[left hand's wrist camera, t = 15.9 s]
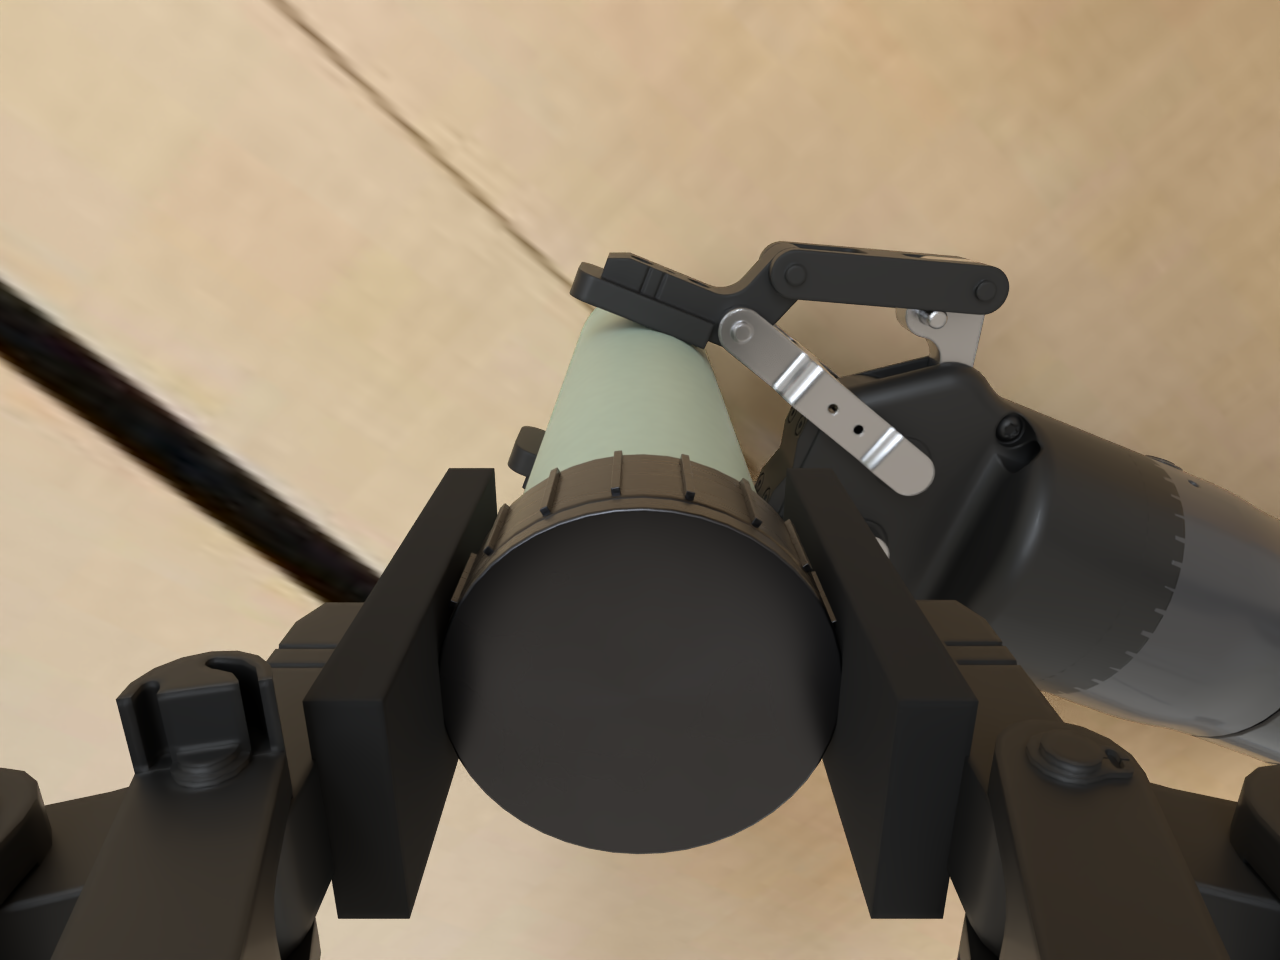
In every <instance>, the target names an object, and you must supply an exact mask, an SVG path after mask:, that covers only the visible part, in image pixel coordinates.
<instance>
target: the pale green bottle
mask: <svg viewBox="0 0 1280 960" xmlns="http://www.w3.org/2000/svg"><path fill="white" fill-rule="evenodd" d="M620 450H622V454H623V455H635V454H648V455H661V456H670V457H675V458H680V457H681V454H685V455H689V458H690V461H693V462H696V463H699V464H702V465H705V466H708V467H711V468H714V469H716V470H718V471H720V472H722V473H724V474H726V475H728V476H730V477H732V478H734V479H736V480H738V481H739V482H740V481H741V479H742V478H744V479H746V480H748V481H749V483H750V486H751V489H752V490H753V491H754V492H756V490H755V487H754V484H753V482H752V479H751V476H750V473H749V470H748V468H747V465H746V462H745V459H744V456H743V454H742V451H741V448H740V445H739V442H738V440H737V437H736V434H735V431H734V428H733V426H732V423H731V420H730V417H729V414H728V412H727V409H726V406H725V403H724V400H723V398H722V395H721V392H720V389H719V386H718V384H717V381H716V378H715V375H714V372H713V370H712V367H711V364H710V361H709V358H708V356H707V353H706V350H705V349H701V348H699V347H696V346H694V345H691V344H689V343H686V342H684V341H681V340H679V339H677V338H674V337H672V336H670V335H667V334H664V333H661V332H658V331H656V330H653V329H651V328H648V327H646V326H643V325H641V324H638V323H636V322H633V321H631V320H628V319H626V318H623V317H621V316H618V315H616V314H613V313H610V312H608V311H605V310H603V309H600V308H598V307H597V308H596V309H595V310H594V311H593V312H592V313H591V314H590V316H589V317H588V319H587V320H586V322H585V324H584V326H583V328H582V331H581V333H580V336H579V339H578V342H577V345H576V348H575V350H574V353H573V356H572V359H571V362H570V364H569V367H568V370H567V373H566V376H565V378H564V381H563V384H562V387H561V390H560V393H559V395H558V398H557V401H556V404H555V407H554V409H553V412H552V415H551V418H550V421H549V424H548V426H547V429H546V432H545V435H544V438H543V440H542V443H541V446H540V449H539V452H538V454H537V457H536V460H535V463H534V466H533V469H532V471H531V474H530V477H529V480H528V483H527V485H526V488H525V491H524V493H526V492H527V491H528V490H529V489H530V488H532V487H534V486H535V485H537V484H538V483H540V482H542V481H543V480H545V479H547V478H548V477H549V475H550V471H551V470H553V469H555V468H558V469H559V471H560V472H561V471H563V470H565V469H567V468H570V467H572V466H575V465H578V464H582V463H585V462H588V461H591V460H595V459H600V458H606V457H612V456H614V451H620Z"/></svg>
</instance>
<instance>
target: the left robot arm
mask: <svg viewBox="0 0 1280 960" xmlns="http://www.w3.org/2000/svg"><path fill="white" fill-rule="evenodd" d="M496 517H497V503H496V488H495V472H494V468H449V469H448V471H447V472H446V474H445V476H444V477H443V479H442V480H441V482H440V484H439V485H438V487H437V488H436V490H435V491H434V493H433V495H432V496H431V498H430V499H429V501H428V503H427V504H426V506H425V507H424V509H423V510H422V512H421V514H420V515H419V517H418V518H417V520H416V522H415V523H414V525H413V526H412V528H411V529H410V531H409V533H408V534H407V536H406V537H405V539H404V541H403V542H402V544H401V545H400V547H399V548H398V550H397V552H396V553H395V555H394V556H393V558H392V560H391V561H390V563H389V564H388V566H387V567H386V569H385V571H384V572H383V574H382V575H381V577H380V579H379V580H378V582H377V583H376V585H375V587H374V588H373V590H372V591H371V593H370V594H369V596H368V598H367V599H366V601H365V602H364V603H325V604H323V605H321V606H320V607H318V608H317V609H315V610H314V611H312V612H311V613H309V614H308V615H306V616H304V617H303V618H301V619H300V620H298V621H297V622H296V623H295V624H294V625H293V627H292V628H291V629H290V631H289V632H288V633H287V635H286V636H285V637H284V639H283V640H282V641H281V643H280V644H279V649H275V650H274V652H273V653H272V654H271V656H270V657H269V658H268V660H267V661H265V660H263V659H262V658H261V657H260V656H258V655H254V654H249V653H245V652H241V651H212V652H207V653H202V654H197V655H192V656H187V657H183V658H180V659H177V660H175V661H172V662H169V663H167V664H164V665H162V666H159V667H157V668H154V669H152V670H151V671H149V672H148V673H146V674H144V675H143V676H141V677H139V678H138V679H136V680H135V681H133V682H131V683H130V684H129V685H128V687H127V688H126V689H125V690H124V691H123V692H122V693H121V694H120V695H119V697H118V698H117V699H116V702H117V705H118V709H119V713H120V717H121V721H122V725H123V729H124V733H125V737H126V741H127V744H128V748H129V752H130V756H131V760H132V764H133V768H134V772H135V775H134V777H133V779H132V782H131V784H130V786H129V787H127V788H123V789H119V790H116V791H112V792H108V793H103V794H98V795H93V796H89V797H84V798H79V799H74V800H69V801H65V802H60V803H55V804H50V805H45V806H44V802H43V799H42V796H41V793H40V789H39V786H38V783H37V781H36V780H35V779H33V778H32V777H31V776H30V775H28V774H27V773H26V772H25V771H20V770H13V769H6V768H0V960H320V956H321V949H320V942H319V935H318V929H317V924H316V918H315V917H316V914H317V912H318V910H319V907H320V905H321V903H322V900H323V898H324V896H325V893H326V891H327V889H328V886H329V884H330V882H331V880H332V884H333V890H334V896H335V903H336V909H337V915H338V919H410V916H411V913H412V909H413V906H414V903H415V899H416V896H417V893H418V890H419V886H420V883H421V880H422V877H423V873H424V870H425V867H426V863H427V860H428V857H429V854H430V850H431V847H432V844H433V841H434V837H435V834H436V831H437V827H438V824H439V821H440V818H441V814H442V811H443V808H444V805H445V801H446V798H447V795H448V792H449V788H450V785H451V782H452V778H453V775H454V772H455V769H456V765H457V762H458V759H459V758H458V756H457V754H456V752H455V750H454V748H453V746H452V744H451V742H450V740H449V738H448V735H447V732H446V729H445V726H444V718H443V709H442V698H441V688H440V677H439V654H440V647H441V644H442V640H443V637H444V634H445V631H446V628H447V625H448V622H449V620H450V617H451V615H452V612H453V610H454V609H452V608H450V607H448V605H449V603H450V600H451V598H452V596H453V593H454V591H455V589H456V586H457V584H458V582H459V580H460V577H461V575H462V573H463V570H464V568H465V566H466V563H467V561H468V559H469V557H470V554H471V553H474V554H477V553H478V551H479V549H480V547H481V545H482V543H483V541H484V539H485V537H486V536H487V534H488V533H489V531H490V530H491V528H492V527H493V525H494V522H495V520H496ZM788 519H790V520H791V522H792V523H793V524H794V527H795V529H796V531H797V534H798V536H799V538H800V541H801V543H802V545H803V548H804V550H805V552H806V555H807V557H808V559H809V562H810V564H811V566H812V570H811V572H814V571H815V572H816V574H817V577H818V579H819V581H820V584H821V586H822V588H823V591H824V593H825V595H826V598H827V600H828V602H829V604H830V607H831V609H832V611H833V614H834V616H835V618H836V628H835V631H836V634H837V638H838V642H839V645H840V649H841V654H842V676H841V687H840V697H839V708H838V717H837V725H836V728H835V731H834V734H833V736H832V739H831V742H830V744H829V746H828V748H827V750H826V751H825V753H824V755H823V757H822V759H823V762H824V766H825V769H826V772H827V776H828V779H829V782H830V785H831V789H832V792H833V795H834V798H835V802H836V805H837V808H838V812H839V815H840V818H841V821H842V825H843V828H844V831H845V834H846V838H847V841H848V844H849V847H850V851H851V854H852V857H853V861H854V864H855V867H856V870H857V874H858V877H859V880H860V883H861V887H862V890H863V893H864V897H865V900H866V903H867V906H868V910H869V913H870V916H871V919H943V914H944V908H945V902H946V896H947V890H948V884H949V878H951V880H952V882H953V885H954V887H955V889H956V892H957V894H958V896H959V898H960V901H961V903H962V905H963V908H964V910H965V918H964V924H963V929H962V935H961V940H960V946H959V952H958V957H957V960H1280V764H1279V765H1272V766H1265V767H1258V768H1257V769H1256V770H1254V771H1253V772H1252V773H1251V774H1249V775H1248V776H1247V777H1246V778H1245V780H1244V783H1243V787H1242V790H1241V793H1240V796H1239V800H1238V802H1234V801H1229V800H1224V799H1220V798H1215V797H1210V796H1205V795H1200V794H1196V793H1191V792H1186V791H1181V790H1176V789H1172V788H1168V787H1164V786H1161V785H1157V784H1153V783H1150V782H1149V780H1148V778H1147V776H1146V774H1145V772H1144V771H1143V769H1142V768H1141V767H1140V765H1139V764H1138V763H1137V761H1136V760H1135V759H1134V757H1133V756H1132V755H1131V754H1130V753H1128V752H1127V751H1126V750H1124V749H1123V748H1121V747H1120V746H1119V745H1117V744H1116V743H1115V742H1113V741H1112V740H1110V739H1109V738H1106V737H1104V736H1102V735H1100V734H1097V733H1095V732H1093V731H1091V730H1089V729H1086V728H1084V727H1081V726H1077V725H1073V724H1069V723H1064V722H1063V721H1062V719H1061V718H1060V717H1059V715H1058V714H1057V713H1056V711H1055V710H1054V709H1053V707H1052V706H1051V705H1050V704H1049V702H1048V701H1047V700H1046V698H1045V697H1044V696H1043V694H1042V693H1041V692H1040V690H1039V689H1038V688H1037V686H1036V685H1035V684H1034V682H1033V681H1032V680H1031V679H1030V677H1029V676H1028V675H1027V673H1026V672H1025V671H1024V669H1023V668H1022V667H1021V665H1017V660H1016V659H1015V657H1014V656H1013V655H1012V654H1011V652H1010V651H1009V650H1008V648H1007V647H1006V646H1003V645H1002V640H1001V639H1000V638H999V636H998V635H997V634H996V632H995V631H994V630H993V629H992V627H991V626H990V625H989V623H988V622H987V621H986V619H984V618H983V617H981V616H980V615H978V614H977V613H975V612H973V611H972V610H970V609H969V608H967V607H966V606H964V605H963V604H961V603H959V602H958V601H956V600H915V599H914V598H913V596H912V595H911V593H910V591H909V590H908V588H907V587H906V585H905V583H904V582H903V580H902V579H901V577H900V575H899V574H898V572H897V571H896V569H895V568H894V566H893V564H892V563H891V561H890V560H889V558H888V556H887V555H886V553H885V552H884V550H883V549H882V547H881V545H880V544H879V542H878V541H877V539H876V537H875V536H874V534H873V533H872V531H871V530H870V528H869V526H868V525H867V523H866V522H865V520H864V518H863V517H862V515H861V514H860V512H859V511H858V509H857V507H856V506H855V504H854V503H853V501H852V499H851V498H850V496H849V495H848V493H847V492H846V490H845V488H844V487H843V485H842V484H841V482H840V480H839V479H838V477H837V476H836V474H835V473H834V471H833V469H832V468H787V471H786V486H785V502H784V517H783V521H784V522H785V521H787V520H788Z"/></svg>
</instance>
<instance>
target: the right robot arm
mask: <svg viewBox="0 0 1280 960" xmlns="http://www.w3.org/2000/svg"><path fill="white" fill-rule="evenodd" d="M1008 292H1009V282H1008V279H1007V277H1006V275H1005V274H1004V272H1002V271H1001V270H1000V269H998V268H996V267H993V266H990V265H986V264H983V263H979V262H976V261H972V260H969V259H965V258H961V257H957V256H947V255H935V254H924V253H912V252H900V251H889V250H877V249H866V248H854V247H843V246H831V245H819V244H808V243H796V242H785V241H779V242H775V243H772V244H770V245H768V246H767V247H766V248H765V249H764V250H763V252H762V253H761V255H760V258H759V260H758V261H757V262H756V264H755V265H754V266H753V267H752V268H751V269H750V270H749V271H748V272H747V273H746V275H745V276H744V277H743V278H742V279H741V280H740V281H738V282H737V283H735V284H733V285H730V286H727V287H714V286H711V285H708V284H706V283H703V282H701V281H698V280H696V279H693V278H691V277H688V276H686V275H684V274H681V273H679V272H676V271H674V270H671V269H669V268H666V267H664V266H661V265H659V264H657V263H654V262H651V261H649V260H647V259H644V258H642V257H639V256H637V255H634V254H632V253H609V256H608V259H607V261H606V264H605V267H604V269H603V268H600V267H598V266H595V265H592V264H589V263H585V262H582V263H581V265H580V266H579V268H578V271H577V274H576V277H575V280H574V282H573V285H572V288H571V291H570V295H572V296H573V297H575V298H577V299H579V300H581V301H583V302H585V303H588V304H590V305H593V306H595V307H598V308H600V309H603V310H605V311H608V312H610V313H613V314H616V315H618V316H621V317H623V318H626V319H628V320H631V321H633V322H636V323H638V324H641V325H643V326H646V327H648V328H651V329H653V330H656V331H658V332H661V333H664V334H667V335H670V336H672V337H674V338H677V339H679V340H681V341H684V342H686V343H689V344H691V345H694V346H696V347H699V348H701V349H705V346H706V344H707V342H708V341H709V342H712V343H714V344H717V345H719V346H722V347H723V348H724V349H726V350H727V351H728V352H729V353H730V354H731V355H733V356H734V357H735V358H736V359H738V360H739V361H740V362H741V363H743V364H744V365H745V366H746V367H747V368H749V369H750V370H751V371H752V372H754V373H755V374H756V375H757V376H759V377H760V378H761V379H762V380H763V381H765V382H766V383H767V384H768V385H770V386H771V387H772V388H773V389H774V390H775V391H777V392H778V393H779V394H780V395H781V397H782V398H784V399H785V400H786V401H787V402H788V403H789V404H790V405H791V406H792V407H791V409H790V411H789V413H788V416H787V418H786V420H785V425H784V430H783V436H782V442H781V446H780V448H779V449H778V450H777V452H776V453H775V454H774V455H773V456H772V457H771V459H770V460H769V461H768V462H767V463H766V465H765V466H764V467H763V469H762V471H761V473H760V475H759V477H758V479H757V481H752V482H753V484H754V487H755V490H756V493H757V494H758V495H759V496H760V497H761V498H762V499H763V500H765V501H766V502H767V503H768V504H769V505H770V506H771V507H772V508H773V509H774V510H775V511H776V512H777V514H778V515H779V516H780V517H781V518H782V519H783V517H784V502H785V486H786V471H787V468H832V469H833V471H834V473H835V474H836V476H837V477H838V479H839V480H840V482H841V484H842V485H843V487H844V488H845V490H846V492H847V493H848V495H849V496H850V498H851V499H852V501H853V503H854V504H855V506H856V507H857V509H858V511H859V512H860V514H861V515H862V517H863V518H864V520H865V522H866V523H867V525H868V526H869V528H870V530H871V531H872V533H873V534H874V536H875V537H876V539H877V541H878V542H879V544H880V545H881V547H882V549H883V550H884V552H885V553H886V555H887V556H888V558H889V560H890V561H891V563H892V564H893V566H894V568H895V569H896V571H897V572H898V574H899V575H900V577H901V579H902V580H903V582H904V583H905V585H906V587H907V588H908V590H909V591H910V593H911V595H912V596H913V598H914V599H915V600H956V601H958V602H959V603H961V604H963V605H964V606H966V607H967V608H969V609H970V610H972V611H973V612H975V613H977V614H978V615H980V616H981V617H983V618H984V619H986V621H987V622H988V623H989V625H990V626H991V627H992V629H993V630H994V631H995V632H996V634H997V635H998V636H999V638H1000V639H1001V640H1002V645H1003V646H1006V647H1007V648H1008V650H1009V651H1010V652H1011V654H1012V655H1013V656H1014V657H1015V659H1016V660H1017V665H1021V667H1022V668H1023V669H1024V671H1025V672H1026V673H1027V675H1028V676H1029V677H1030V679H1031V680H1032V681H1033V682H1034V684H1035V685H1036V686H1037V688H1038V689H1039V690H1040V691H1044V692H1047V693H1049V694H1052V695H1055V696H1058V697H1060V698H1063V699H1066V700H1069V701H1072V702H1074V703H1077V704H1080V705H1083V706H1086V707H1088V708H1091V709H1094V710H1097V711H1099V712H1102V713H1105V714H1108V715H1111V716H1114V717H1117V718H1121V719H1124V720H1128V721H1133V722H1137V723H1142V724H1147V725H1152V726H1158V727H1163V728H1168V729H1172V730H1176V731H1179V732H1182V733H1186V734H1189V735H1192V736H1195V737H1197V738H1200V739H1203V740H1206V741H1208V742H1211V743H1214V744H1217V745H1220V746H1222V747H1225V748H1228V749H1231V750H1233V751H1236V752H1239V753H1242V754H1245V755H1247V756H1250V757H1252V758H1255V759H1258V760H1260V761H1263V762H1266V763H1269V764H1271V765H1279V764H1280V520H1279V519H1276V518H1274V517H1272V516H1270V515H1268V514H1266V513H1265V512H1263V511H1261V510H1259V509H1258V508H1256V507H1255V506H1253V505H1252V504H1250V503H1248V502H1247V501H1245V500H1243V499H1242V498H1240V497H1238V496H1236V495H1235V494H1233V493H1231V492H1229V491H1228V490H1226V489H1223V488H1221V487H1219V486H1217V485H1215V484H1213V483H1210V482H1208V481H1205V480H1203V479H1200V478H1198V477H1196V476H1193V475H1191V474H1188V473H1186V472H1184V471H1183V470H1182V469H1181V468H1179V467H1177V466H1175V464H1174V463H1172V462H1169V461H1167V460H1164V459H1161V458H1157V457H1154V456H1149V455H1145V456H1144V455H1142V454H1140V453H1137V452H1135V451H1132V450H1130V449H1127V448H1125V447H1122V446H1120V445H1117V444H1115V443H1113V442H1110V441H1107V440H1105V439H1103V438H1100V437H1098V436H1095V435H1093V434H1090V433H1088V432H1085V431H1083V430H1080V429H1078V428H1076V427H1073V426H1071V425H1068V424H1066V423H1063V422H1061V421H1058V420H1056V419H1053V418H1051V417H1049V416H1046V415H1044V414H1041V413H1039V412H1036V411H1034V410H1031V409H1029V408H1026V407H1024V406H1022V405H1019V404H1017V403H1014V402H1012V401H1009V400H1007V399H1005V398H1002V397H1000V396H999V395H998V394H997V393H996V392H995V391H994V390H993V389H992V388H991V386H990V385H989V383H988V382H987V380H986V379H985V377H984V376H983V375H982V374H981V373H980V372H979V371H977V370H976V369H975V368H973V365H974V360H975V356H976V351H977V347H978V342H979V338H980V334H981V329H982V325H983V320H984V316H985V315H986V314H989V313H992V312H994V311H996V310H997V309H998V308H1000V307H1001V306H1002V304H1003V303H1004V302H1005V300H1006V298H1007V296H1008ZM797 300H809V301H821V302H833V303H844V304H856V305H868V306H880V307H892V308H896V317H897V320H898V322H899V323H900V325H901V326H902V327H904V328H905V329H907V330H908V331H910V332H912V333H913V334H915V335H917V336H919V337H923V338H925V339H926V340H927V342H928V345H929V356H925V357H921V358H917V359H913V360H909V361H905V362H901V363H897V364H893V365H889V366H885V367H881V368H877V369H873V370H869V371H865V372H860V373H856V374H852V375H848V376H844V377H840V376H839V375H837V374H836V373H835V372H834V371H833V370H831V369H830V368H829V367H828V366H827V365H825V364H824V363H823V362H822V361H821V360H819V359H818V358H817V357H816V356H815V355H813V354H812V353H811V352H810V351H809V350H807V349H806V348H805V347H804V346H803V345H801V344H800V343H799V342H798V341H797V340H795V339H794V338H792V337H791V336H790V335H788V334H787V333H786V332H785V331H784V330H782V329H781V328H780V327H779V326H778V325H776V324H775V323H776V322H777V321H778V320H779V319H780V318H781V317H782V316H783V315H784V314H785V313H786V312H787V311H788V310H789V309H790V307H791V306H792V305H793V304H794V303H795V302H796V301H797ZM545 432H546V431H544V430H541V429H538V428H535V427H530V426H524V427H522V428H521V430H520V433H519V435H518V437H517V439H516V442H515V444H514V447H513V450H512V453H511V456H510V458H509V461H508V466H509V467H510V468H511V469H512V470H513V471H515V472H516V473H518V474H521V475H523V476H526V479H525V481H524V484H523V487H522V488H524V489H525V488H526V485H527V483H528V480H529V477H530V474H531V471H532V469H533V466H534V463H535V460H536V457H537V454H538V452H539V449H540V446H541V443H542V440H543V438H544V435H545Z"/></svg>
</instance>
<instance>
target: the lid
mask: <svg viewBox="0 0 1280 960" xmlns="http://www.w3.org/2000/svg"><path fill="white" fill-rule="evenodd" d="M811 570H812V566H811V564H810V562H809V559H808V557H807V555H806V552H805V550H804V548H803V545H802V543H801V541H800V538H799V536H798V534H797V531H796V529H795V527H794V524H793V523H792V522H791V520H790V519H788V520H787V521H785V522H784V521H783V519H782V518H781V517H780V516H779V515H778V514H777V512H776V511H775V510H774V509H773V508H772V507H771V506H770V505H769V504H768V503H767V502H766V501H765V500H763V499H762V498H761V497H760V496H759V495H758V494H757V493H756V492H754V491H753V490H752V489H751V486H750V483H749V481H748V480H746V479H744V478H742V479H741V481H740V482H739V481H738V480H736V479H734V478H732V477H730V476H728V475H726V474H724V473H722V472H720V471H718V470H716V469H714V468H711V467H708V466H705V465H702V464H699V463H696V462H693V461H690V458H689V455H685V454H681V457H680V458H675V457H670V456H661V455H648V454H635V455H623V454H622V450H620V451H614V456H612V457H606V458H600V459H595V460H591V461H588V462H585V463H582V464H578V465H575V466H572V467H570V468H567V469H565V470H563V471H561V472H560V471H559V469H558V468H555V469H553V470H551V471H550V475H549V477H548V478H547V479H545V480H543V481H542V482H540V483H538V484H537V485H535V486H534V487H532V488H530V489H529V490H528V491H527V492H526V493H524V494H523V495H522V496H521V497H519V498H518V499H517V500H516V501H515V502H513V503H512V504H511V506H510V507H509V506H508V505H507V504H504V505H503V506H502V507H501V508H500V510H499V513H498V515H497V517H496V520H495V522H494V525H493V527H492V528H491V530H490V531H489V533H488V534H487V536H486V537H485V539H484V541H483V543H482V545H481V547H480V549H479V551H478V553H477V554H474V553H471V554H470V557H469V559H468V561H467V563H466V566H465V568H464V570H463V573H462V575H461V577H460V580H459V582H458V584H457V586H456V589H455V591H454V593H453V596H452V598H451V600H450V603H449V605H448V607H450V608H452V609H454V610H453V612H452V615H451V617H450V620H449V622H448V625H447V628H446V631H445V634H444V637H443V640H442V644H441V647H440V654H439V677H440V688H441V698H442V709H443V718H444V726H445V729H446V732H447V735H448V738H449V740H450V742H451V744H452V746H453V748H454V750H455V752H456V754H457V756H458V758H459V760H460V761H461V763H462V764H463V766H464V767H465V769H466V770H467V772H468V773H469V775H470V776H471V777H472V778H473V779H474V781H475V782H476V783H477V784H478V785H479V786H480V787H481V789H482V790H483V791H484V792H485V793H486V794H487V795H488V796H489V797H490V798H492V799H493V800H494V801H495V802H496V803H497V804H498V805H500V806H501V807H502V808H503V809H504V810H506V811H507V812H509V813H510V814H512V815H513V816H514V817H516V818H517V819H519V820H520V821H522V822H523V823H525V824H527V825H529V826H531V827H533V828H535V829H537V830H538V831H540V832H542V833H544V834H547V835H549V836H552V837H554V838H557V839H559V840H562V841H564V842H568V843H571V844H575V845H578V846H582V847H586V848H589V849H595V850H601V851H607V852H613V853H629V854H652V853H666V852H673V851H680V850H687V849H691V848H695V847H699V846H703V845H707V844H710V843H713V842H716V841H718V840H721V839H724V838H726V837H729V836H732V835H734V834H736V833H738V832H740V831H742V830H744V829H746V828H748V827H750V826H752V825H754V824H755V823H757V822H759V821H760V820H762V819H763V818H765V817H766V816H768V815H769V814H771V813H772V812H774V811H775V810H776V809H777V808H779V807H780V806H781V805H782V804H783V803H785V802H786V801H787V800H788V799H789V798H791V797H792V796H793V794H794V793H795V792H796V791H797V790H798V789H799V788H800V787H801V786H802V785H803V784H804V783H805V782H806V781H807V779H808V778H809V777H810V775H811V774H812V772H813V771H814V770H815V768H816V767H817V765H818V764H819V763H820V761H821V759H822V757H823V755H824V753H825V751H826V750H827V748H828V746H829V744H830V742H831V739H832V736H833V734H834V731H835V728H836V725H837V717H838V708H839V697H840V687H841V676H842V654H841V649H840V645H839V642H838V638H837V634H836V631H835V628H836V618H835V616H834V614H833V611H832V609H831V607H830V604H829V602H828V600H827V598H826V595H825V593H824V591H823V588H822V586H821V584H820V581H819V579H818V577H817V574H816V572H815V571H814V572H811Z"/></svg>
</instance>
